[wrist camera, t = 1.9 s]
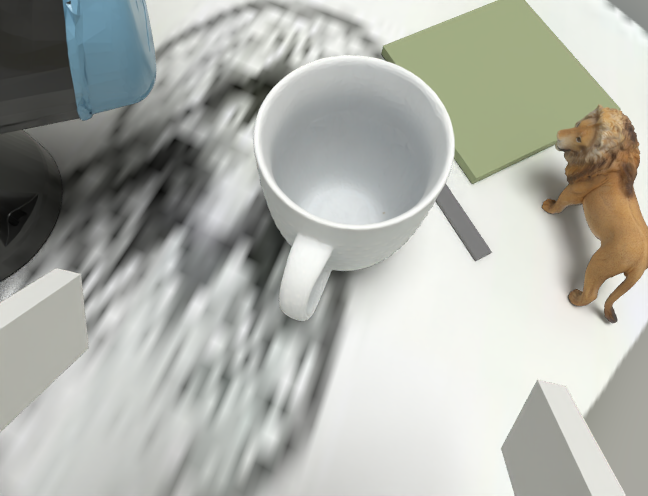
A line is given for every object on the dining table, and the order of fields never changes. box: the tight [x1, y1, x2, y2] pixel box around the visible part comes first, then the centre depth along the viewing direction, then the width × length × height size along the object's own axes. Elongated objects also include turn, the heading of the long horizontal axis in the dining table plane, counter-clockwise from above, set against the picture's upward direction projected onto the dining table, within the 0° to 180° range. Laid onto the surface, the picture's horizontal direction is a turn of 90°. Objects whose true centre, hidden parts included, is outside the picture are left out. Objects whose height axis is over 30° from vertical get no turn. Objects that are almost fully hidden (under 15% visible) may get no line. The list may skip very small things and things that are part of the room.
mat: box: [382, 0, 620, 184], centre depth 39 cm, size 16×16×1 cm
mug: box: [253, 55, 455, 321], centre depth 27 cm, size 15×11×13 cm
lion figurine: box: [542, 104, 648, 323], centre depth 30 cm, size 15×5×9 cm, turn 13°
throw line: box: [435, 183, 491, 261], centre depth 36 cm, size 22×2×1 cm, turn 27°
